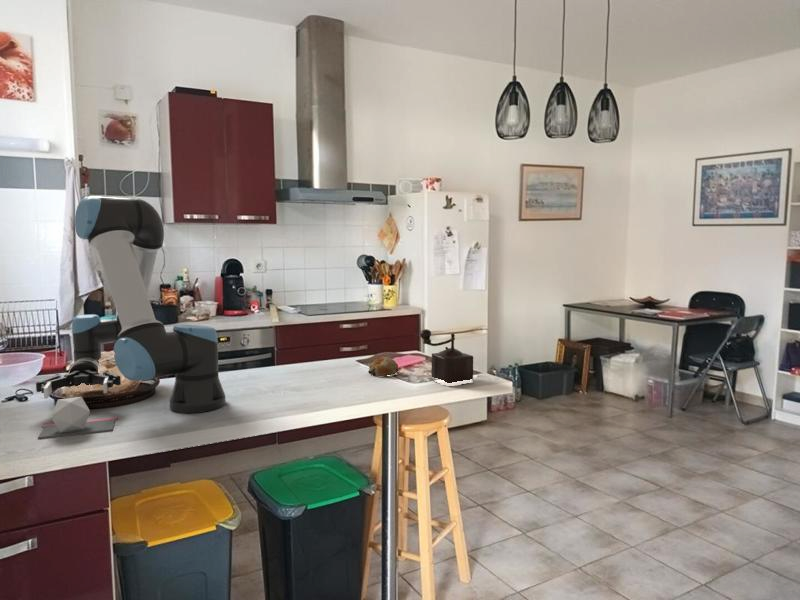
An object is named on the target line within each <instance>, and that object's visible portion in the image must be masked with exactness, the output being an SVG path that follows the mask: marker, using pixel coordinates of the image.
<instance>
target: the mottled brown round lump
mask: <svg viewBox="0 0 800 600" xmlns="http://www.w3.org/2000/svg"><path fill="white" fill-rule="evenodd" d="M368 368H369V369H368V371H367V372H368V374H370V376H372V375H373V376H372V377H375V376H387V375H391V374H395V373H396V372H397V371H399V366H398V364H397V362H396V361H395V359H393V358H391V357H387V356H380V357H378V358H376V359H374V360H373V361H372V363H371V364H370V365H368ZM397 373H398V372H397Z"/></svg>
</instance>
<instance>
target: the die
mask: <svg viewBox="0 0 800 600" xmlns="http://www.w3.org/2000/svg"><path fill="white" fill-rule="evenodd" d="M89 415H90V408H89V407H88V405H87V404H86V402H85V400H84V398H83V397H82V396H77V397H67V398H61V399H57V401H56V404H55V406H54V409H53V411H52V414H51V419H52V421H53V423H55V425H56V427H57V428H58V430H59V432H60V433H64V432H71V431H77V430H84V427H85V424H86V421H87V420H88V418H89Z"/></svg>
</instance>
